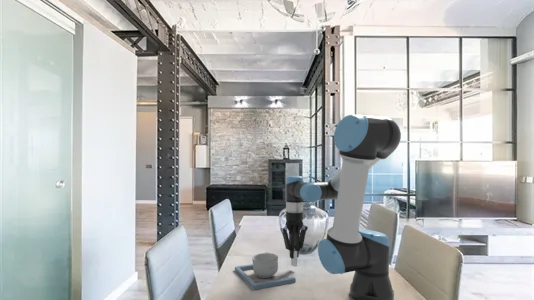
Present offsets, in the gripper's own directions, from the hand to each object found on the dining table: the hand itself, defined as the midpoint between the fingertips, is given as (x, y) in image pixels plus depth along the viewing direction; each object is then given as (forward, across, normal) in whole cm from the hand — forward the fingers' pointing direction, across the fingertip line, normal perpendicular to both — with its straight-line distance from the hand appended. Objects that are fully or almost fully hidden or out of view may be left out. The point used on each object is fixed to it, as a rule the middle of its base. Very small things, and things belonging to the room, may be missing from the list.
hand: (294, 265), depth 139 cm
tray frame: (+2, +14, 0) cm, 15 cm away
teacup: (+2, +13, -1) cm, 13 cm away
